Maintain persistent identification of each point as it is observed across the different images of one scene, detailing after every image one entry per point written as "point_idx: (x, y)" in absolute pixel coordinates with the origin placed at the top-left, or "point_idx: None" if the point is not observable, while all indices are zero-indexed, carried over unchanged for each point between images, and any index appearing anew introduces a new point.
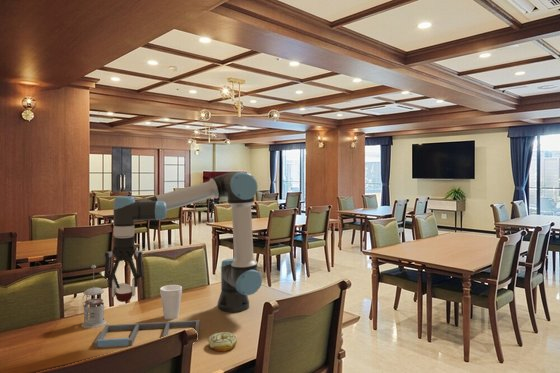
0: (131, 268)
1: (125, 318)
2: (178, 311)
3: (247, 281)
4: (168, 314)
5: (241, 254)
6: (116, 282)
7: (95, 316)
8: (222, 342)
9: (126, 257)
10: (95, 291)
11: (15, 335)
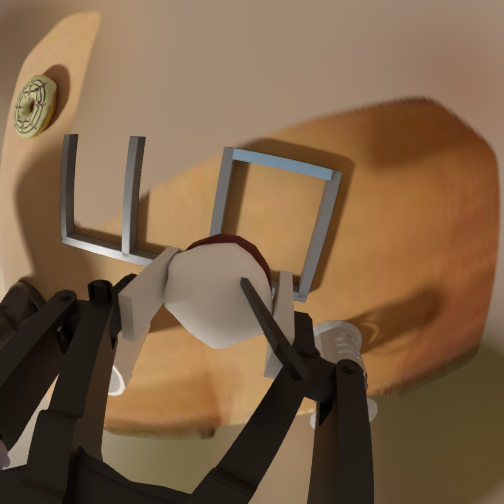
0: (86, 364)
1: (250, 353)
2: None
3: None
4: None
5: None
6: (258, 295)
7: (334, 345)
8: (34, 79)
9: (62, 485)
10: None
11: (474, 321)
